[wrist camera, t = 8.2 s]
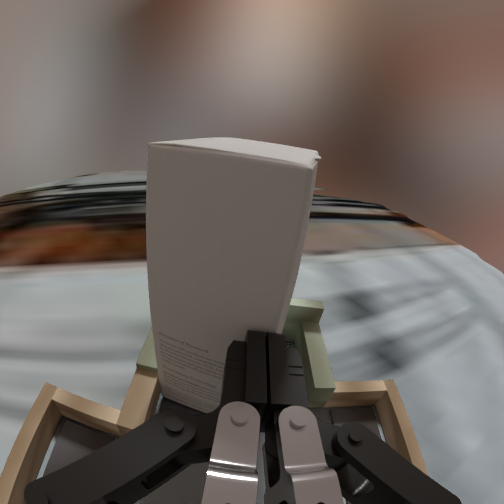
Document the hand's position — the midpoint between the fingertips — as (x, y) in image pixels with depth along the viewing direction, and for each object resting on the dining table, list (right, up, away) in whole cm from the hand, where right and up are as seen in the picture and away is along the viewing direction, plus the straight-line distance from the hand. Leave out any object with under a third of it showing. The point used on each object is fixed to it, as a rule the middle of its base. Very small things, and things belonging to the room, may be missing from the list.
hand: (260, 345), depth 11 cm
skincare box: (-2, -5, +7) cm, 9 cm away
